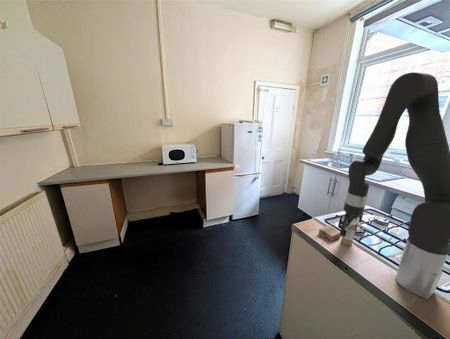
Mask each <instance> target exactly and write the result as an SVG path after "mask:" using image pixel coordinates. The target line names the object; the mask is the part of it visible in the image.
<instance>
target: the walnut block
mask: <svg viewBox="0 0 450 339" xmlns="http://www.w3.org/2000/svg"><path fill="white" fill-rule="evenodd" d="M318 234H319V235H320V236H322V238H325V239H327V240H328V241H330V242H333V241H336V240H338V239H340V238H342V236H341V235H340V231H339V230H338V229H336V228H334V227H332V226H330V225H326V226H323V227H321V228H319V231H318Z"/></svg>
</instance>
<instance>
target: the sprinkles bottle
mask: <svg viewBox="0 0 450 339" xmlns="http://www.w3.org/2000/svg"><path fill="white" fill-rule="evenodd" d="M357 222H358V220H356V219H355V221H354V222H353V223H352V224H351V226H350V227H348V228H347V231H346V236H345V237H343V236H341V243H342V244H343V245H345V246H348V247H350V246H353V242H354V238H355V234H356V232H355V228H356V225H357ZM347 224H349V223H348V222H347Z"/></svg>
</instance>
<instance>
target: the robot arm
mask: <svg viewBox="0 0 450 339" xmlns="http://www.w3.org/2000/svg"><path fill="white" fill-rule="evenodd" d="M393 81H394V82H392V84H391V86H390V88H389V90H388V93H387V95H386V99H385V100H384V103H383V106H382V109H381V112H380V114H379V116H378V119H377V121H376V124H375V126H374V128H373V130H372V133H371V134H370V136H369V137H368V139H367V141H366V143H365V144H364V147H363V148H362V154H364V157H363V159H360V160H358V159H357V160H354V161H352V162H351V163H350V165H349V167H348V182H349V185H348V188H347V193H346V195H345V200H344V205H343V211H344V212H345V214H344V215H340V218H339V220H338V225H337V228H339V229H340V235H341V237H342V236H343V237H345V236H346V231H347V228H348V227H350V226H351V224H352V223H353V222H354V221H355V219H356V220H358V222H357V225H356V228H355V233H356V232H357V230H358V226H359V225H360V224H361V223H362V221H363V217H364V212H365V209H366V203H367V200H368V199H367V198H368V194H369V188H370V184H369V183H368V182H367V181H366V177H369V176H372V175H374V174H376V172H377V171H378V170H379V168H380V167H381V164H382V160H383V157H384V155H385V153H386V151H387V150H388V149H389V147H390V146H391V144H392V142H393V140H394V138H395V135H396V132H397V129H398V128H397V127H398V126H399V121H400V119H401V117H402V115H403V114H404V112H405V111H406V110H407V114H408V115H407V116H408V127H407V131H406V134H405V139H404V141H405V142H404V143H405V144H404V146H405V152H406V156H407V161H408V163H409V165H410V168H411V169H412V170H413V172H414V173H415V175H416V176H417V178H418V179H419V181H420V182H421V184H422V189H423V194H424V202H421V203H420V204H418V205H416V206H415V208H414V209H413V210H412V214H411V217H410V220H409V225H408V229H407V233H408V237H407V241H406V243H405V246H404V249H403V253H402V255H401V259H400V262H399V265H398V269H397V271H396V274H395V281H396V283H398V285H399V286H401V287H402V288H403V289H404V290H406V291H408V292H409V293H411V294H414V295H416V296H417V297H418V296H419V297H421V298H423V299H425V300H428V299H429V298H431V296H432V295H433V294H434V293H435V291H436V290H437V286H438V284H439V282H440V280H441V277H442V275H443V272H444V270H443V269H444V265H445V263H446V260H447V258H448V255H449V253H450V146H449V142H448V139H447V134H446V131H445V130H446V129H445V125H444V122H443V118H442V116H441V110H440V102H439V100H440V99H439V83H438V80H437V78H436V77H435V76H434V75H432V74H429V73H426V72H425V73H424V72H417V71H412V72H411V71H410V72H407V73H404V74H402V75H400V76H398V78H396V79H395V80H393ZM347 222H348V223H349V224H347Z"/></svg>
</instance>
